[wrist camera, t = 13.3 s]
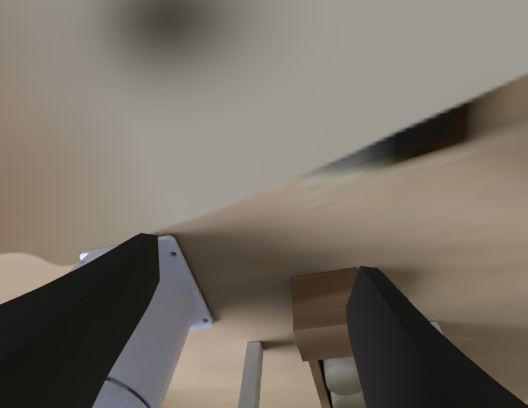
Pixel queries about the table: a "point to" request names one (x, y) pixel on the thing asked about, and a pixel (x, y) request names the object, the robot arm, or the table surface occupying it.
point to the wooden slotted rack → (327, 335)
